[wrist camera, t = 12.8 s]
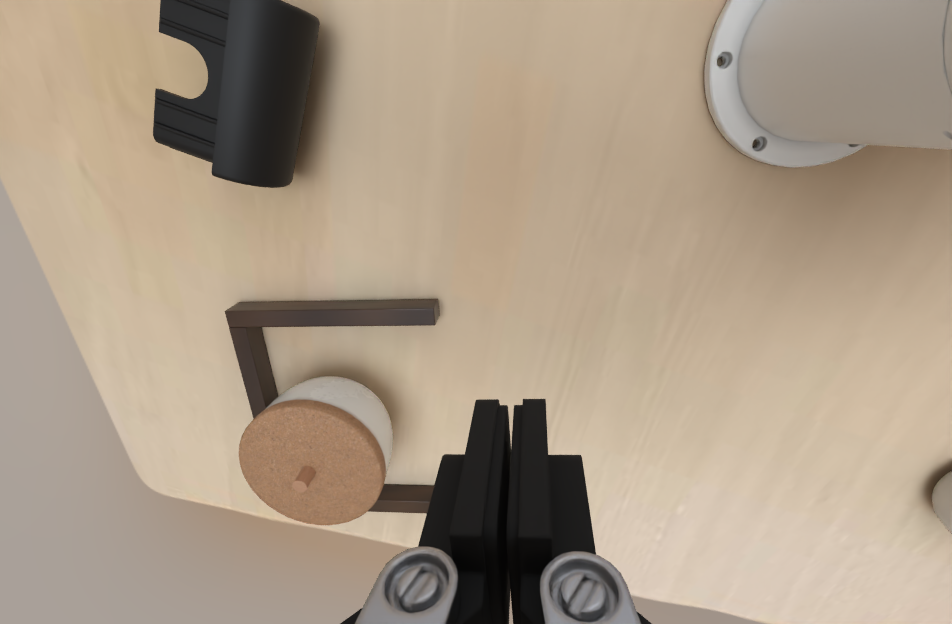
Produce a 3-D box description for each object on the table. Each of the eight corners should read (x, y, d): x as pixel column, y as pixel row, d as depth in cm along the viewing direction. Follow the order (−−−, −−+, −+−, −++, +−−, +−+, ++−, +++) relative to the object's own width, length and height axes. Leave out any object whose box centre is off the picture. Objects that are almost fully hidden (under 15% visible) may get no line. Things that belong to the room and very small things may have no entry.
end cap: (310, 181, 33) (261, 194, 27) (215, 147, 33) (144, 152, 27) (340, 28, 29) (291, 2, 23) (232, -12, 29) (153, -50, 23)
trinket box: (288, 343, 38) (220, 406, 30) (414, 368, 38) (383, 439, 30) (286, 445, 43) (226, 527, 34) (400, 469, 42) (369, 557, 34)
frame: (438, 298, 36) (433, 308, 34) (455, 497, 43) (452, 514, 41) (238, 301, 37) (224, 311, 36) (287, 493, 45) (277, 508, 43)
